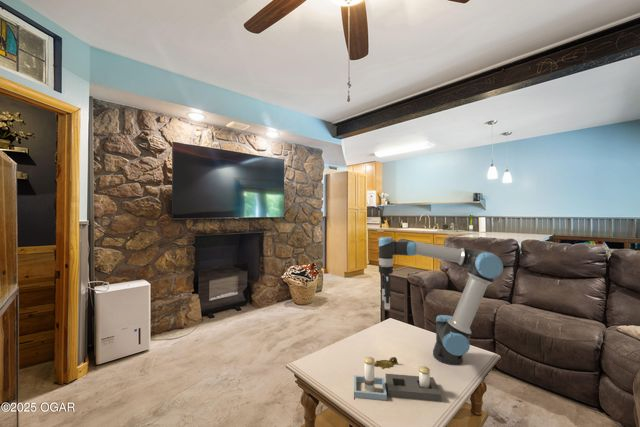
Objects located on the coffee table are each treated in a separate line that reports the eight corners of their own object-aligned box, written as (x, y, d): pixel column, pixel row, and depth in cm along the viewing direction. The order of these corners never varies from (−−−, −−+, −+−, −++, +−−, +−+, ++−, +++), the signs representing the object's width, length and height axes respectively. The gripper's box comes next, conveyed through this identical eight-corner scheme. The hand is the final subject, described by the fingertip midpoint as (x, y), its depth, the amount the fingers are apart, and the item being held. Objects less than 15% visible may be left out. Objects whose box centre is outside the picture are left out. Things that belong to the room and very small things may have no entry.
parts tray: (383, 384, 125) (383, 377, 125) (386, 402, 114) (386, 394, 114) (354, 382, 127) (354, 375, 127) (353, 399, 116) (353, 391, 116)
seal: (376, 376, 135) (402, 370, 139) (377, 367, 134) (402, 362, 138) (368, 364, 143) (392, 359, 148) (368, 356, 143) (393, 351, 147)
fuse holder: (433, 385, 125) (433, 377, 125) (441, 403, 113) (441, 394, 113) (385, 381, 128) (385, 373, 128) (388, 398, 116) (388, 389, 116)
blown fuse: (374, 387, 122) (374, 357, 123) (375, 394, 118) (374, 362, 118) (364, 386, 123) (364, 356, 123) (364, 393, 119) (364, 361, 119)
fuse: (428, 388, 122) (428, 366, 122) (431, 395, 117) (430, 372, 117) (417, 387, 122) (417, 365, 122) (420, 394, 118) (420, 371, 118)
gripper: (377, 261, 157) (377, 297, 157) (380, 270, 133) (380, 312, 133) (390, 261, 156) (390, 297, 156) (396, 270, 132) (396, 313, 132)
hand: (385, 304), depth 144 cm, fingers open, 13 cm apart
